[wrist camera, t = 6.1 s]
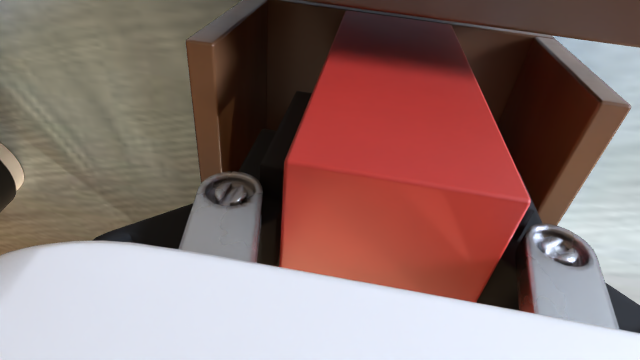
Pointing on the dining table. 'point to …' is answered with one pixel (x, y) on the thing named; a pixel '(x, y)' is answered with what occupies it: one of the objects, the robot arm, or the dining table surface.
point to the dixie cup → (9, 176)
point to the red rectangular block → (399, 165)
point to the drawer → (481, 53)
